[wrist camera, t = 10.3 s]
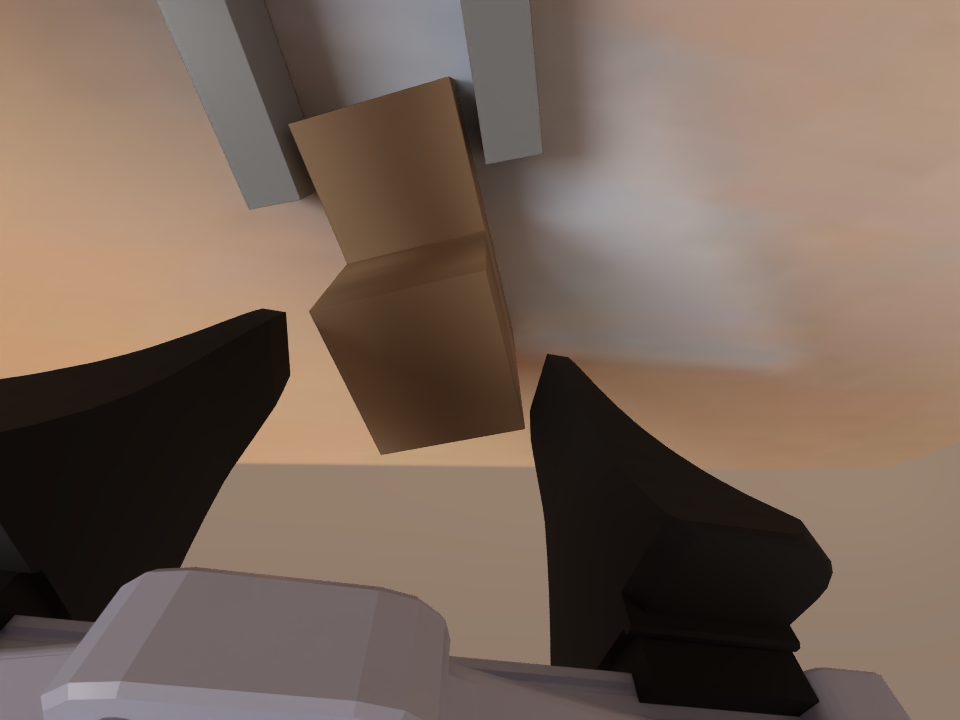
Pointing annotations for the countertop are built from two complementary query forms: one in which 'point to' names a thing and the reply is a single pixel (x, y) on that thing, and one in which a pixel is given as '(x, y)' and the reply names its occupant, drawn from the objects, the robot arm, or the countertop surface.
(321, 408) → the countertop surface
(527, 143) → the channel
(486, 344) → the block
